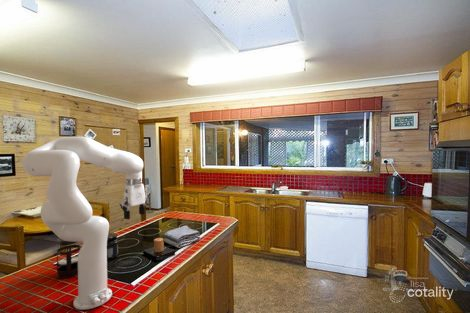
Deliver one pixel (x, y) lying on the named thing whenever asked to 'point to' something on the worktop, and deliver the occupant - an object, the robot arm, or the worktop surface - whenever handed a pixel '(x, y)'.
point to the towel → (181, 236)
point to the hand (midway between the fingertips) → (134, 216)
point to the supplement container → (112, 246)
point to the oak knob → (158, 245)
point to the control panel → (158, 253)
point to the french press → (67, 260)
